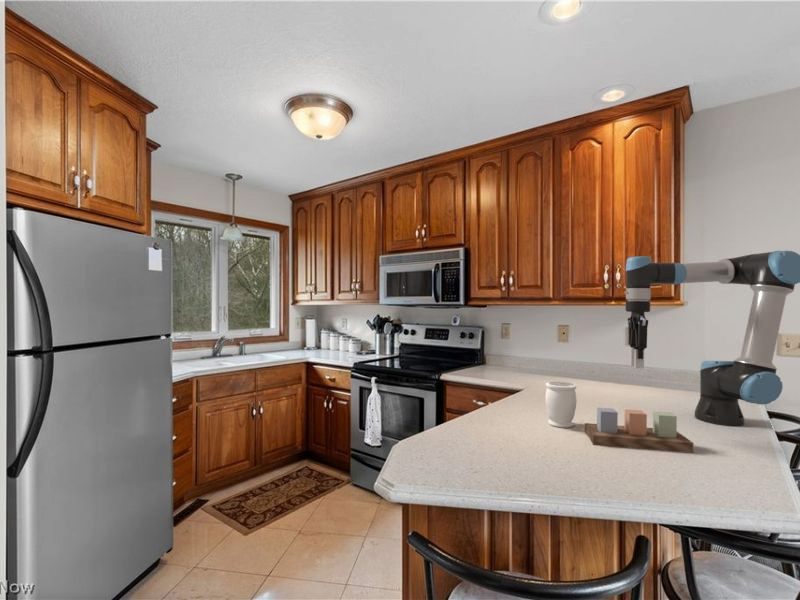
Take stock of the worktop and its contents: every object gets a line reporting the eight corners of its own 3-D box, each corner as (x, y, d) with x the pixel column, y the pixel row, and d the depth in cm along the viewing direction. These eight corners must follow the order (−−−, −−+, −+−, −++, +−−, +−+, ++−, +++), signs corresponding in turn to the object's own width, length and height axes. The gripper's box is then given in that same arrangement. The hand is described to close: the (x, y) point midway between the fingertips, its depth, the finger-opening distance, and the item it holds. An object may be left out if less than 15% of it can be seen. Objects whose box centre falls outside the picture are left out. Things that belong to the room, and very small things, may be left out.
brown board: (674, 438, 137) (674, 429, 137) (693, 452, 125) (693, 442, 125) (584, 431, 144) (584, 423, 144) (593, 444, 131) (593, 435, 131)
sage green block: (669, 435, 134) (670, 412, 134) (676, 440, 129) (676, 416, 129) (652, 433, 135) (653, 411, 135) (658, 438, 130) (658, 415, 130)
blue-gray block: (612, 430, 138) (613, 408, 138) (617, 435, 133) (617, 412, 133) (596, 429, 139) (597, 407, 139) (600, 434, 134) (600, 411, 134)
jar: (543, 426, 149) (543, 384, 149) (547, 418, 159) (547, 380, 158) (574, 430, 144) (575, 388, 144) (577, 423, 154) (577, 383, 154)
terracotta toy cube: (640, 432, 136) (641, 410, 136) (646, 437, 131) (646, 414, 131) (624, 431, 137) (624, 409, 137) (629, 436, 132) (629, 413, 132)
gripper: (619, 300, 154) (618, 362, 154) (634, 300, 137) (633, 370, 138) (641, 300, 152) (640, 363, 152) (659, 300, 136) (658, 371, 136)
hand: (636, 366), depth 145 cm, fingers open, 4 cm apart
